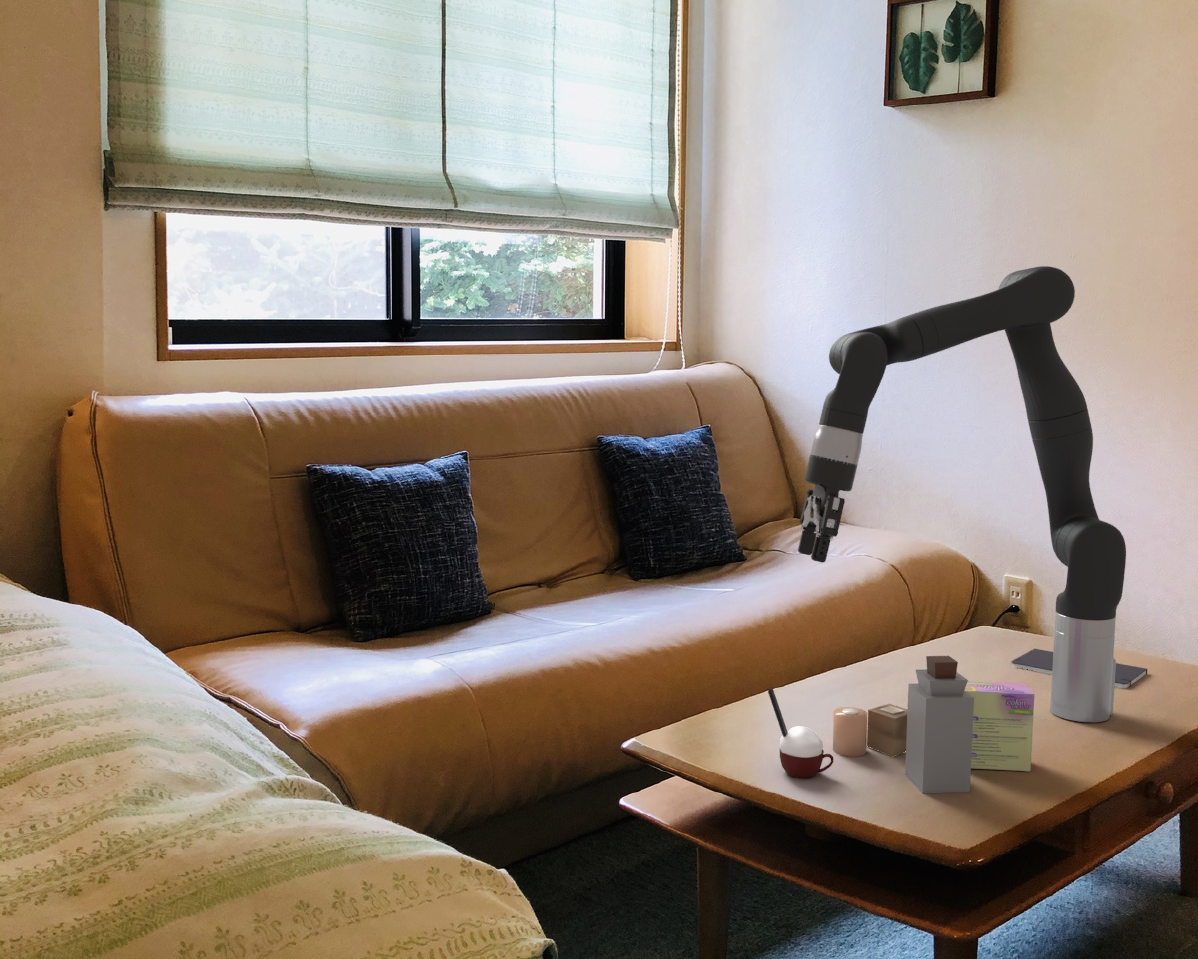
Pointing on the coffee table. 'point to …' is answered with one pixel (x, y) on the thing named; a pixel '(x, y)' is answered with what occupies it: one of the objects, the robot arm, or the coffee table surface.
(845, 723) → the terracotta cylinder
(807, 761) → the cocoa
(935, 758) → the perfume bottle
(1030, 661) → the notebook
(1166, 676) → the coffee table surface
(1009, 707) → the box
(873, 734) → the walnut block
